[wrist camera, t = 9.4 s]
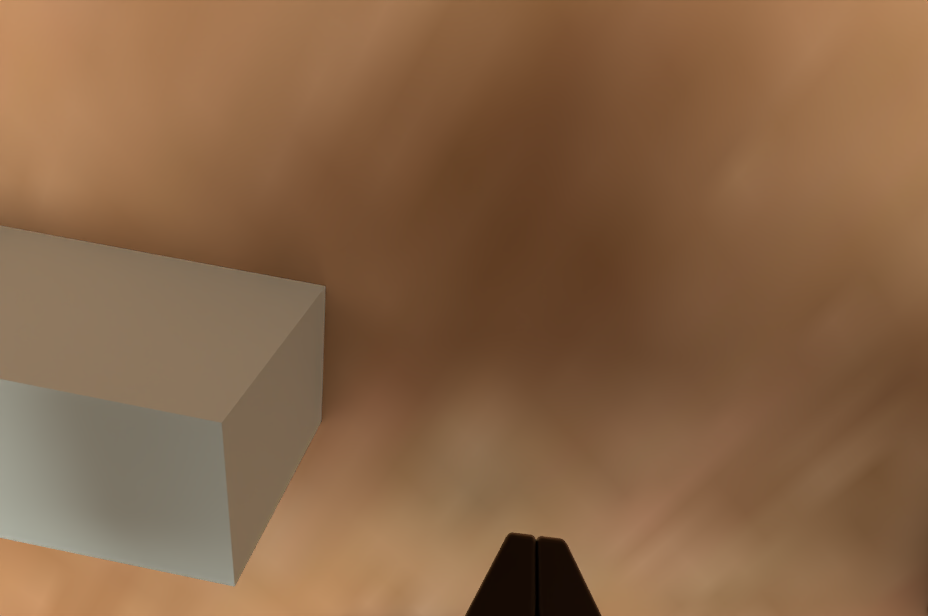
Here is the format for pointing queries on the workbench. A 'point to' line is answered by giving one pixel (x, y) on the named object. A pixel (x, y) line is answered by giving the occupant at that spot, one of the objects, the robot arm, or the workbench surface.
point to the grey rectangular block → (150, 402)
